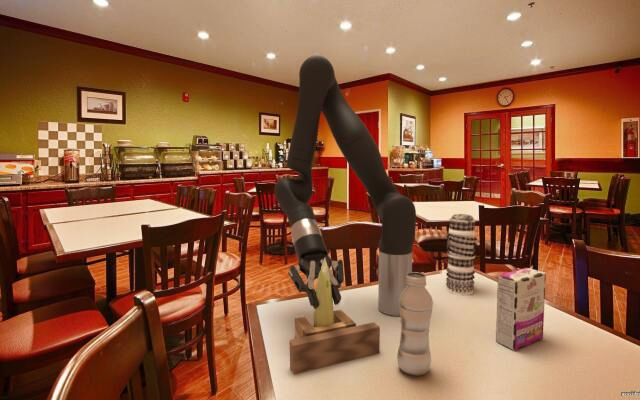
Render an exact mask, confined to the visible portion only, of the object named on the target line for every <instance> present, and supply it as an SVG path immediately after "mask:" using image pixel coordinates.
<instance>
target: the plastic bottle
mask: <svg viewBox="0 0 640 400" xmlns="http://www.w3.org/2000/svg"><path fill="white" fill-rule="evenodd" d="M426 276H427V275H426V274H424V273H421V272H416V271H414V272H413V271H412V272H411V273H407V275H406V284H407V287H406V288H405V289H404V290H403V292H402V293H401V295H400V298H399V306H400V315H401V316H400V337H399V338H400V339H399V346H398V349H397V355H396V359H397V365H398V366H399V368H400V370H401V371H402V372H404V373H405V374H407V375H411V376H422V375H426V374H427V373H428V371H429V370H430V367H431V363H432V354H431V350H430V335H429V334H430V324H431V323H430V322H431V318H432V312H433V306H434V301H433V297H432V295H431V294H430V291H428V289H427V288H426V286H427V277H426Z"/></svg>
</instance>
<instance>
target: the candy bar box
mask: <svg viewBox="0 0 640 400" xmlns="http://www.w3.org/2000/svg"><path fill="white" fill-rule="evenodd" d="M546 275H547V272H544V271H542V270H538V269H534V268H530V267H524V268H521V269H516V270H513V271H509V272H506V273H502V274H498V275H497V290H496V291H497V294H496V296H497V297H496V327H495V343H497V344H499V345H501V346H504V347H506V348H508V349H509V350H512V351H513V352H515V351H517V350H521V349H522V348H525V347H527V346H530V345H532V344H534V343H537V342H538V341H540V340H543V339H544V320H545V318H544V317H545V299H546Z"/></svg>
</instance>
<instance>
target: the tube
mask: <svg viewBox="0 0 640 400" xmlns="http://www.w3.org/2000/svg"><path fill="white" fill-rule="evenodd" d="M315 291H316V296H317V299H318V302H319V306H318V308H315V309H314V310H313V311H314V315H313V316H314V317H313V327H319V326H324V325H329V324H334V311H335V310H334V301H333V298H332V290H331V283H330V277H329V271H328V266H327V263H326V258H325V259H324V262H323V264H322V267H321V271H320V273H319V276H318V278H317V280H316V288H315Z"/></svg>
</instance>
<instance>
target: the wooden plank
mask: <svg viewBox="0 0 640 400" xmlns="http://www.w3.org/2000/svg"><path fill="white" fill-rule="evenodd" d="M380 329H381V328H380V326H379V325H378V324H377V323H375V322H369V323H365V324H363V323H362V324H359V325H356V326H354V327H349V328H344V329H339V330H335V331H330V332H325V333H320V334H316V335H311V336H306V337H301V338H296V339H295V338H291V339H289V342H288V343H289V369H290V370H291V372H292V373H293V375H296V374H301V373H304V372H308V371H312V370H316V369H320V368H324V367H327V366H332V365H336V364H340V363H344V362H348V361H352V360H356V359H360V358H363V357H364V358H365V357H369V356H372V355H376V354H380V352H381V351H380V342H381V340H380V337H381V336H380V333H381V330H380Z"/></svg>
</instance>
